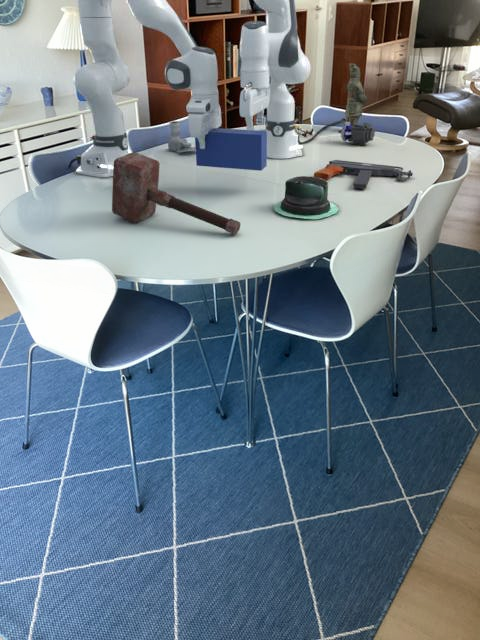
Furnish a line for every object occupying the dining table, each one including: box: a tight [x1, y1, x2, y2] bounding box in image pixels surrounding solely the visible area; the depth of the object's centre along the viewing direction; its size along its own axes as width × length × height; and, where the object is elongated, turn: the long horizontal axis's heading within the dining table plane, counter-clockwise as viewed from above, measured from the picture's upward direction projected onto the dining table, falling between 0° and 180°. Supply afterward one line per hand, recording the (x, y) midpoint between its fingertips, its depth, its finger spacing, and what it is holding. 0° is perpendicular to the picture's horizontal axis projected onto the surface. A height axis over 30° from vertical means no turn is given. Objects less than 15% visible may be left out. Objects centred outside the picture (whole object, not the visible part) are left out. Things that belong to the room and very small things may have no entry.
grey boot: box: [167, 120, 196, 154], centre depth 238 cm, size 9×12×15 cm
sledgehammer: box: [111, 151, 241, 236], centre depth 161 cm, size 17×10×40 cm
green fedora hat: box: [273, 175, 339, 220], centre depth 172 cm, size 15×19×20 cm
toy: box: [338, 121, 376, 146], centre depth 244 cm, size 9×9×15 cm
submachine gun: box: [313, 159, 414, 190], centre depth 199 cm, size 32×3×25 cm
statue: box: [344, 62, 368, 127], centre depth 262 cm, size 11×9×30 cm
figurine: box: [295, 118, 314, 138], centre depth 267 cm, size 13×8×25 cm
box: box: [194, 127, 268, 172], centre depth 185 cm, size 23×6×12 cm, turn 71°
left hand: (207, 145), depth 187 cm, fingers closed on box, 6 cm apart
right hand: (254, 127), depth 179 cm, fingers open, 8 cm apart
